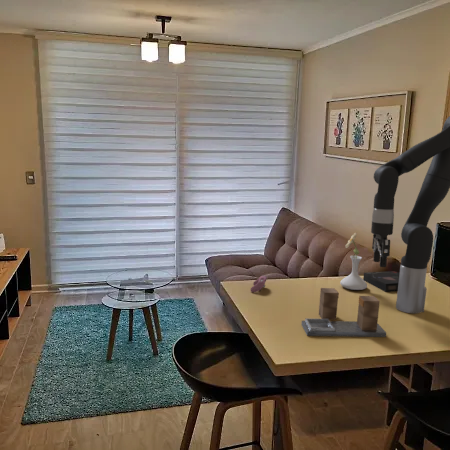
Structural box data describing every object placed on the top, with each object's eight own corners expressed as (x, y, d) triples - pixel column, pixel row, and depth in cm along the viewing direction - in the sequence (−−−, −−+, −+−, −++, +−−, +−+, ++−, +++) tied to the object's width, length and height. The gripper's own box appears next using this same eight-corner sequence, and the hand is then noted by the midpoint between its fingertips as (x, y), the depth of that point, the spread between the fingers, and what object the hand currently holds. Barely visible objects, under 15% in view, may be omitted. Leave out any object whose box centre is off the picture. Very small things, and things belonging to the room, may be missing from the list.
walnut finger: (332, 314, 170) (335, 288, 168) (336, 319, 165) (339, 292, 163) (318, 314, 170) (320, 288, 168) (322, 319, 165) (324, 292, 163)
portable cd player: (385, 293, 198) (386, 284, 197) (363, 281, 214) (363, 272, 213) (418, 291, 202) (419, 282, 202) (393, 279, 218) (394, 271, 218)
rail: (375, 325, 161) (376, 319, 160) (385, 336, 152) (386, 329, 152) (301, 324, 159) (301, 317, 159) (307, 335, 151) (307, 328, 150)
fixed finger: (371, 324, 159) (374, 296, 157) (376, 330, 154) (379, 301, 152) (355, 323, 158) (358, 295, 156) (360, 329, 153) (363, 300, 151)
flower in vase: (345, 282, 209) (350, 227, 205) (370, 287, 203) (376, 231, 198) (334, 289, 199) (339, 231, 194) (360, 295, 192) (365, 236, 188)
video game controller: (258, 297, 190) (267, 283, 188) (249, 291, 190) (257, 277, 189) (261, 289, 200) (270, 276, 198) (252, 284, 200) (260, 270, 198)
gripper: (399, 224, 164) (395, 269, 166) (387, 218, 178) (384, 260, 180) (377, 223, 164) (374, 268, 166) (367, 218, 178) (364, 259, 180)
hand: (379, 264), depth 173 cm, fingers open, 8 cm apart
